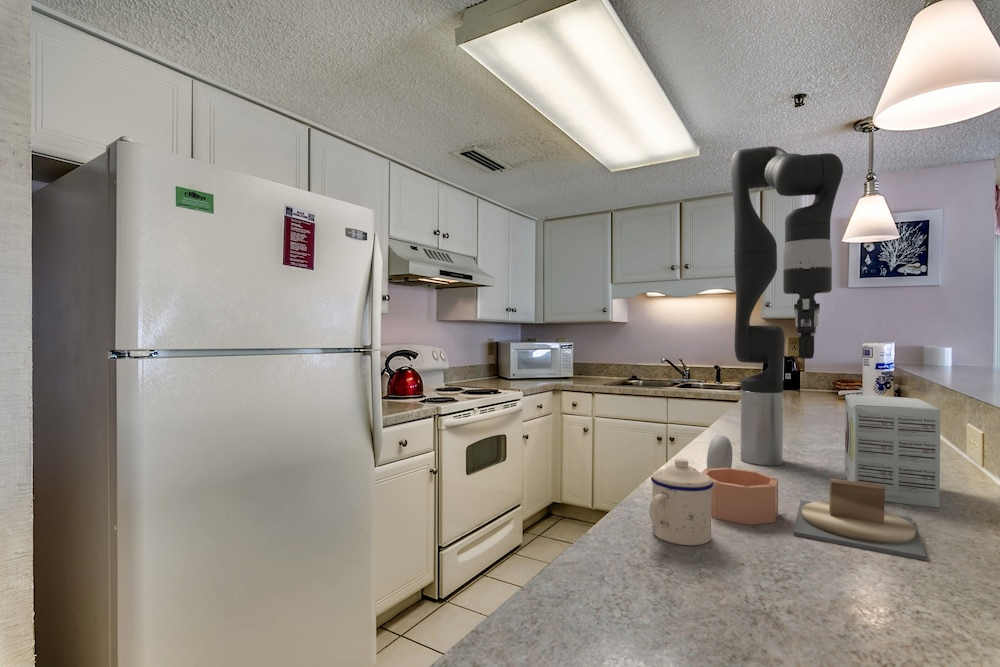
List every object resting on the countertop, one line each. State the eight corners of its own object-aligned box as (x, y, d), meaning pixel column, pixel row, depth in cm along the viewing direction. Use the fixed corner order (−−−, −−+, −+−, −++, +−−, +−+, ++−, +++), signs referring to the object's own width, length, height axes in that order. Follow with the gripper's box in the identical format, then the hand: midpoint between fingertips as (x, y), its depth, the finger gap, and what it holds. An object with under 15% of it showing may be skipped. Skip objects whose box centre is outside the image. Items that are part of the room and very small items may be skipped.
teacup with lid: (672, 520, 86) (673, 450, 86) (724, 537, 79) (725, 461, 79) (626, 537, 79) (626, 461, 79) (679, 558, 72) (679, 474, 72)
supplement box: (842, 475, 114) (843, 394, 114) (919, 484, 108) (919, 398, 108) (852, 497, 99) (853, 403, 99) (942, 509, 92) (942, 408, 92)
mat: (800, 503, 95) (800, 500, 95) (911, 521, 86) (911, 517, 86) (793, 535, 80) (793, 531, 80) (926, 560, 71) (926, 556, 71)
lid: (799, 501, 93) (800, 466, 93) (903, 517, 86) (904, 478, 86) (804, 530, 80) (805, 488, 80) (927, 551, 73) (928, 505, 73)
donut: (722, 489, 103) (722, 439, 103) (704, 486, 105) (704, 437, 105) (734, 478, 111) (734, 432, 111) (717, 476, 113) (717, 430, 113)
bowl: (708, 496, 99) (708, 464, 99) (780, 508, 92) (780, 474, 92) (693, 514, 89) (693, 479, 89) (772, 529, 82) (773, 491, 82)
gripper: (785, 270, 101) (785, 353, 102) (780, 265, 89) (780, 359, 90) (831, 268, 97) (830, 354, 98) (832, 262, 85) (831, 360, 86)
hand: (806, 356), depth 94 cm, fingers open, 8 cm apart
